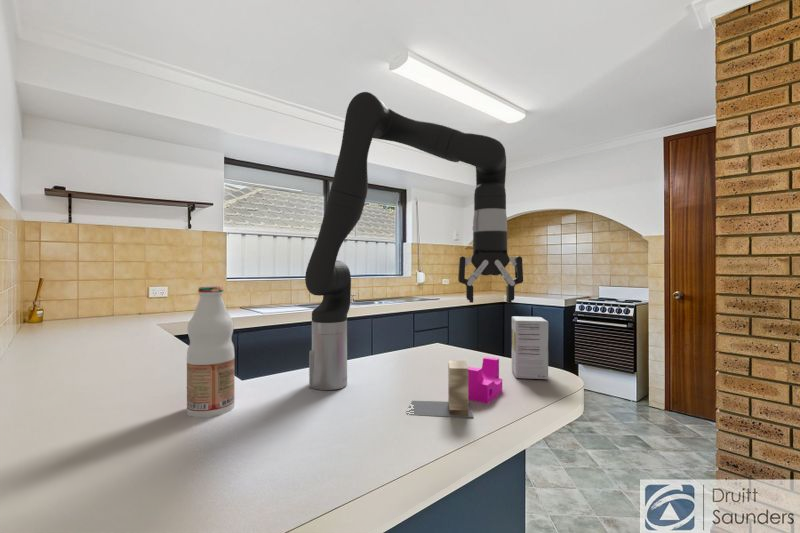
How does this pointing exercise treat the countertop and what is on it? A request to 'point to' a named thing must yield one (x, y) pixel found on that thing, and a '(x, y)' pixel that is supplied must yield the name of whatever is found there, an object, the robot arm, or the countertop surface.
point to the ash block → (458, 387)
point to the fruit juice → (210, 357)
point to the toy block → (484, 381)
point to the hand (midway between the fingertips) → (490, 302)
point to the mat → (435, 409)
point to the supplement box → (530, 347)
